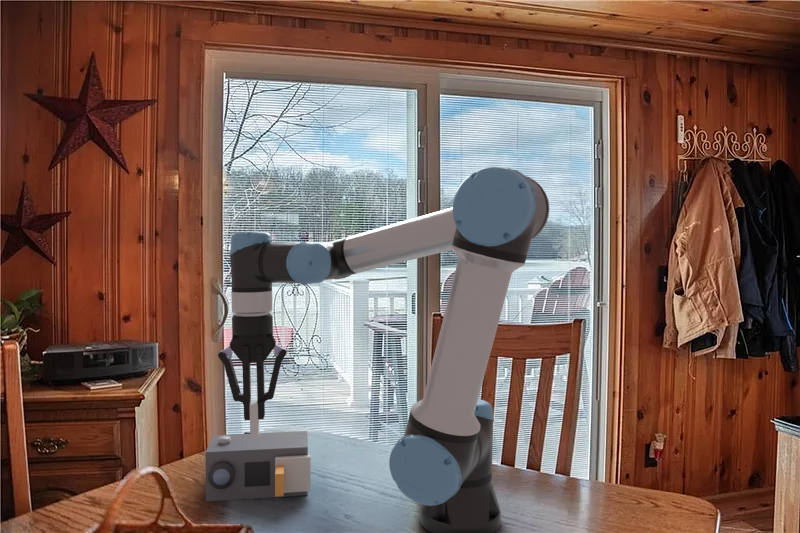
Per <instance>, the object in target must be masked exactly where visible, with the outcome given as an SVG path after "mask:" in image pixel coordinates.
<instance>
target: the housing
mask: <svg viewBox="0 0 800 533" xmlns="http://www.w3.org/2000/svg"><path fill="white" fill-rule="evenodd" d="M308 440H309V439H308V431H307V430H301V431H279V432H277V431H275V432H259V437H258V438H253V439H250V434H244V433H236V434H235V433H234V434H230V433H229V434H213V435H212V437H211V439H210V441H209V444H208V446H207V448H206V450H205V502H206V503H207V502H208V503H209V502H219V501H220V502H221V501H222V502H223V501H235V500H236V501H237V500H251V499H252V500H253V499H255V500H256V499H267V498H268V499H269V498H281V497H282V498H284V497H285V498H286V497H300V496H301V497H302V496H308V494H309V493H308V492H309V491H305V492H289V493H284V496H277V497H275V457H280V456H299V455H309V454H308V452H309V451H308V450H309V444H308Z"/></svg>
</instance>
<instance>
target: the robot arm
mask: <svg viewBox="0 0 800 533" xmlns="http://www.w3.org/2000/svg"><path fill="white" fill-rule="evenodd" d="M549 216H550V201H549V197H548V196H547V192H546V191H545V190H544V188H543V187H542V186H541V184H540V183H538V182H537V181H536V180H535V179H533V178H531V177H529V176H526V175H525V174H523V173H522V172H520V171H518V170H516V169H513V168H510V167H502V166H488V167H483V168H480V169H478V170H476V171H474V172H473V173H471V174H470V175H468V176H467V177H466V178H465V179H464V180H463V181H462V182H461V184H460V185H459V186H458V188H457V189H456V192H455V194H454V197H453V201H452V207H449V208H446V209H441V210H439V211H435V212H432V213H428V214H425V215H421V216H416V217H414V218H411V219H407V220H403V221H400V222H399V221H398V222H396V223H392V224H389V225H385V226H382V227H378V228H375V229H371V230H368V231H364V232H361V233H357V234H354V235H350V236H347V237H343V238H338V239H335V240H332V241H323V242H322V241H321V242H320V241H316V242H315V241H311V240H310V241H288V242H287V241H286V242H274V241H272V235H271V234H270V233H269V232H263V231H262V232H261V231H259V232H257V231H255V232H253V231H252V232H244V231H243V232H242V231H241V232H235V233H233V234H232V235H231V238H230V252H229V260H230V278H231V294H230V296H231V298H230V299H231V312H232V313H234V315H232V316H231V335H232V336H231V340H230V342H229V346H227V347H225V349H221V350H220V351H219V352H218V354H217V357H218V358H219V360H220V361H221V363H222V364H223V366H224V370H225V373H226V378H227V381H228V385H229V388H230V392H231V395H232V399H233V401H234V402H240V403H242V405H243V419H244V421H249V432H250V439H253V438H258V437H259V433H260V420H264V419H265V415H266V411H265V410H266V408H265V407H266V406H265V404H266V402H267V401H269V400H272V399H273V398H274V396H275V391H276V387H277V384H278V383H277V382H278V379H279V374H280V370H281V364H282V362H283V360H284V358H285V357H286V355H287V353H288V349H287V347H282V346H281V345H279V344H277V342H276V341H277V340H276V339H275V337H274V320H273V315H272V313H270V312H272V311H273V283H280V284H301V285H312V284H321V283H323V282H324V281H326V280H327V281H328V280H342V279H345V278H346V279H347V278H349V277H350V276H352V275H357V274H359V273H364V272H367V271H372V270H377V269H380V268H384V267H387V266H392V265H397V264H400V263H404V262H408V261H412V260H417V259H421V258H424V257H428V256H432V255H436V254H441V253H445V252H448V251H453V252H454V253H455V255H456V256H457V263H456V267H455V271H454V275H453V279H452V281H451V282H452V283H451V287H450V291H449V295H448V298H447V303H446V307H445V311H444V315H443V318H442V323H441V327H440V331H439V335H438V338H437V342H436V346H435V350H434V354H433V357H432V362H431V366H430V370H429V374H428V379H427V381H426V382H427V383H426V385H425V390H424V393H423V398H422V399H420V400H419V401H417V402H415V403H413V404H412V406H411V408H410V411H409V415H408V419H407V423H406V427H405V431H404V434H403V436H402V437H400V438H399V439H398V440H397V442H396V443H395V444H394V446H393V448H392V449H391V451H390V455H389V460H388V461H389V470H390V474H391V475H390V476H391V478H392V479H393V481H394V482H395V484H396V485H397V486H396V487H397V488H398V490H399V491H400V492H401V493H402V494H403V495H404V496H405V497H407V499H409V500H411V501H412V502H413V503H414V502H415V503H416V504H420V505H419V522H420V525H421V526H422V527H423V528H424V529H425V530H426V531H428V532H430V533H497V532H498V530H500V527H501V522H502V513H501V512H502V511H501V507H500V504H499V500H498V497H497V494H496V492H495V491H496V490H495V488H494V483H493V477H492V476H493V452H494V451H493V445H494V444H493V442H494V441H493V440H494V438H493V437H494V422H495V418H494V408H493V406H492V404H491V403H490V402H488V401H486V400H484V399H480V398H479V397H480V393H481V389H482V386H483V382H484V378H485V374H486V372H487V367H488V364H489V360H490V356H491V352H492V348H493V345H494V342H495V339H496V338H495V337H496V334H497V331H498V327H499V322H500V318H501V315H502V311H503V307H504V304H505V300H506V297H507V292H508V289H509V285H510V282H511V277H512V274H513V273H514V272H515V271H516V270H518V269H520V268H522V267H524V266H525V264H526V260H527V257H528V253H529V249H530V246H531V242H532V240H533V239H534V238H536V237H537V236H538V235H539V234H540V233H541V232H542V231H543V229H544V228H545V226H546V225H547V222H548V219H549ZM272 351H274V352H273V356H274V357H275V359H274V364H273V368H272V373H271V377H270V381H269V386H268V390H267V391H266V390H265V361H266V360H267V358H268V357H269V356H270V354H271V353H272ZM232 352H233V353H234V355H235V356H236V357H237V359H238V360H240V362H241V364H242V366H241V367H242V392H241V389H240V385H239V382H238V378H237V375H236V370H235V368H234V363H233V360H232V357H233V353H232ZM251 363H255V364H256V365H255V366H256V398H257V399H256V400H252V394H251V393H252V391H251V390H252V386H251V383H252V382H251V381H252V380H251V379H252V378H251V365H252V364H251ZM265 391H266V392H265Z"/></svg>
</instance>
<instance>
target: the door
mask: <svg viewBox="0 0 800 533" xmlns="http://www.w3.org/2000/svg"><path fill="white" fill-rule="evenodd" d="M311 458H312V457H311V454H308V455H299V456H280V457H275V497H274V498H278V497H277V496H284V493H289V492H305V491H308V492H311V473H312V472H311V467H312V466H311V464H312V463H311V461H312V460H311Z"/></svg>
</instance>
